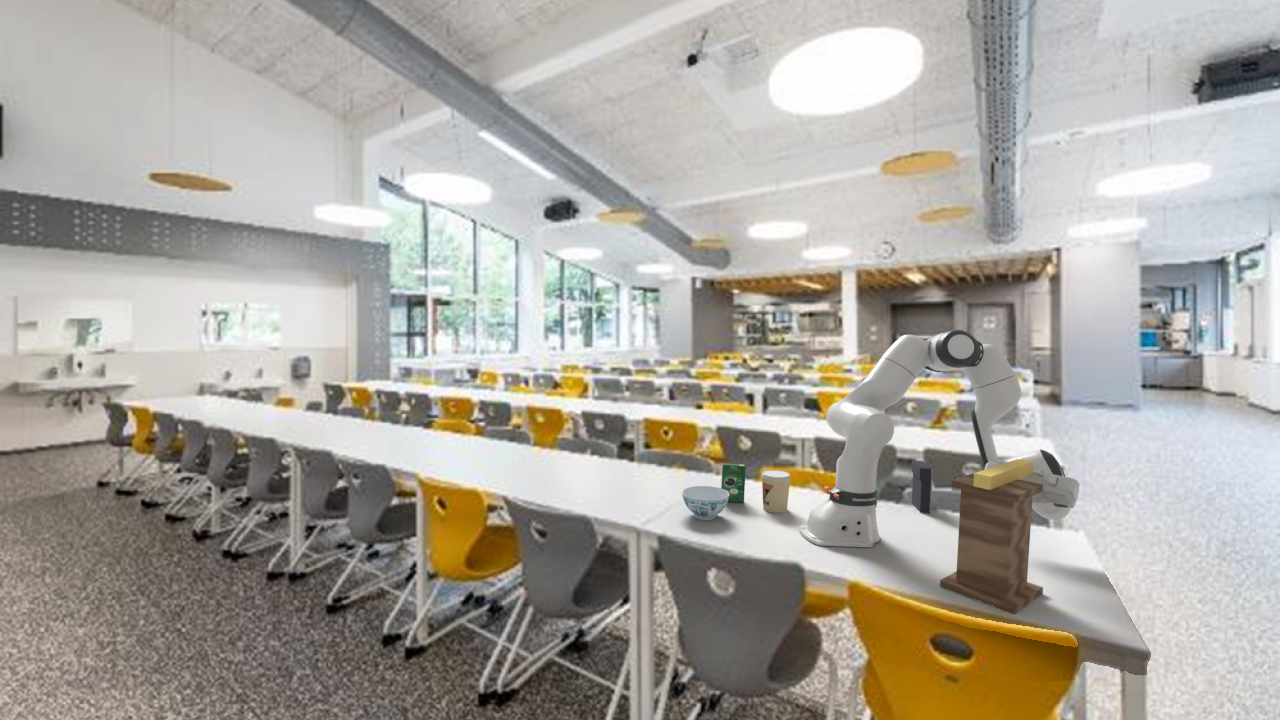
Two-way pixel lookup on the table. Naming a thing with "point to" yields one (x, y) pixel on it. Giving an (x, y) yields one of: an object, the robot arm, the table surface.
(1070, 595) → the table surface
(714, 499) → the chinaware
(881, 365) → the robot arm
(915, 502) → the dark grey upright block
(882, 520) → the table surface
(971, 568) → the walnut stand
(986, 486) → the mustard bar
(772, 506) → the coffee cup
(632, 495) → the table surface
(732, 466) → the coffee box
